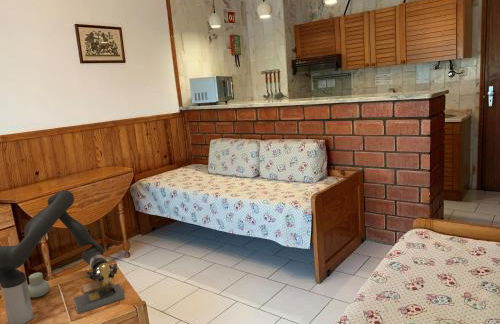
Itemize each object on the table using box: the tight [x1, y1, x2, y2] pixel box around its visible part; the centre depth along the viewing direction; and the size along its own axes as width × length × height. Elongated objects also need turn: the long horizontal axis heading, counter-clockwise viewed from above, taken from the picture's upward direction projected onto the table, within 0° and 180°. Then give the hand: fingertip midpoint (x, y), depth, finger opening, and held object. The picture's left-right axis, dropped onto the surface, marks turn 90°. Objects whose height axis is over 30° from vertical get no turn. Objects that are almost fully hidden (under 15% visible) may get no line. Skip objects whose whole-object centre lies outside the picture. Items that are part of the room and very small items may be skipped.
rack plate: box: [73, 283, 126, 315], centre depth 179 cm, size 20×10×3 cm, turn 121°
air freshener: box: [27, 271, 51, 298], centre depth 188 cm, size 11×8×10 cm
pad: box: [81, 280, 102, 295], centre depth 189 cm, size 8×8×2 cm
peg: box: [99, 262, 113, 292], centre depth 179 cm, size 4×4×12 cm
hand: (106, 278), depth 176 cm, fingers closed on peg, 4 cm apart
